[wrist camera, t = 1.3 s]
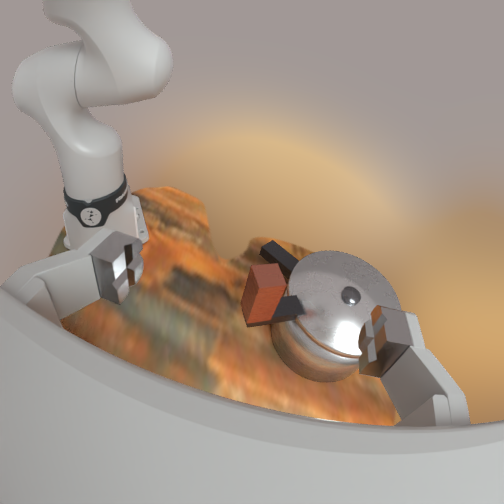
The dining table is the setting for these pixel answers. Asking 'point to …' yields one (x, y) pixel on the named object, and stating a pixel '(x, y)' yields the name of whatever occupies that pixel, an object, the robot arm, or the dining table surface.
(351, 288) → the lid
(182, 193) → the dining table surface
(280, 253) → the cooker pot
